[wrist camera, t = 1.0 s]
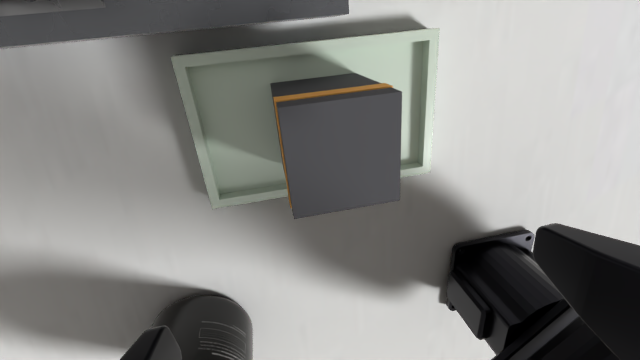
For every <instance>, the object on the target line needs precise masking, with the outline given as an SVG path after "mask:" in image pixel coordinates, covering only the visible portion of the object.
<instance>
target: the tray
mask: <svg viewBox="0 0 640 360" xmlns="http://www.w3.org/2000/svg"><path fill="white" fill-rule="evenodd" d="M439 30H440V28H429V29H419V30H409V31H400V32H390V33H381V34H371V35H362V36H352V37H343V38H334V39H324V40H315V41H305V42H296V43H286V44H277V45H267V46H258V47H248V48H239V49H229V50H220V51H211V52H201V53H192V54H182V55H175V56H171V61H172V64H173V68H174V72H175V75H176V79H177V83H178V86H179V90H180V94H181V97H182V101H183V104H184V108H185V112H186V115H187V119H188V123H189V126H190V130H191V134H192V137H193V141H194V144H195V148H196V152H197V155H198V159H199V163H200V166H201V170H202V174H203V177H204V181H205V185H206V188H207V192H208V195H209V199H210V203H211V206H212V209H217V208H223V207H229V206H235V205H241V204H247V203H253V202H259V201H265V200H271V199H277V198H283V197H288V191H287V184H286V178H285V173H284V169H283V164H282V157H281V151H280V144H279V137H278V131H277V124H276V118H275V111H274V105H273V98H272V92H271V85H270V83H276V82H284V81H292V80H301V79H309V78H317V77H326V76H334V75H342V74H350V73H357V74H359V75H362V76H364V77H367V78H369V79H372V80H374V81H377V82H379V83H387V84H389V85H392V86H393V88H394V89H397V90H399V91H402V123H401V170H400V178H403V177H409V176H415V175H421V174H427V173H430V168H431V152H432V137H433V122H434V106H435V91H436V76H437V60H438V45H439Z"/></svg>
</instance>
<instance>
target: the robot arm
mask: <svg viewBox="0 0 640 360" xmlns="http://www.w3.org/2000/svg"><path fill="white" fill-rule="evenodd" d="M533 241H534V234H533V233H532V232H530V231H529V230H523V231H518V232H513V233H508V234H503V235H498V236H493V237H488V238H483V239H478V240H473V241H468V242H463V243H459V244H456V245H455V246H454V247H453V249H452V257H451V266H450V272H449V277H448V287H447V302H446V305H447V307H448V308H449V309H450V310H451V311H455V310H457V312H458V313H459V314H460V316H461V317H462V318H463V320H464V321H465V323H466V324H467V325H468V327H469V328H470V329H471V331H472V332H473V334H474V335H475V336H476V337H477V338H478V339H479V340H482V339H485V340H486V342H487V343H488V345H489V346H490V347H491V349H492V350H493V351H494V353H495V354H496V356H495V357H494V358H493V359H491V360H640V246H639V245H635V244H632V243H628V242H624V241H621V240H617V239H613V238H610V237H606V236H602V235H598V234H595V233H591V232H587V231H584V230H580V229H576V228H572V227H569V226H565V225H561V224H557V223H554V224H549V225H545V226H541V227H539V228H538V229H537V231H536V236H535V242H534V249H533V253H532V252H531V249H532V245H533ZM120 360H182V356H181V350H180V348H179V346H178V344H177V342H176V340H175V338H174V337H173V335H172V333H171V331H170V329H169V328H168V327H167V326H159V327H155V328H151V329H148V330H146V331H145V332H144V333H143V334H142V335H141V336H140V337H139V338H138V339H137V341H136V342H135V343H134V344H133V345H132V346H131V347H130V349H129V350H128V351H127V352H126V353H125V354H124V355H123V356H122V358H121V359H120Z"/></svg>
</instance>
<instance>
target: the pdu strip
mask: <svg viewBox="0 0 640 360" xmlns="http://www.w3.org/2000/svg"><path fill="white" fill-rule="evenodd" d="M345 14H349V5H348V0H0V49H4V48H15V47H25V46H35V45H46V44H56V43H66V42H77V41H87V40H97V39H108V38H118V37H128V36H139V35H149V34H159V33H170V32H180V31H190V30H201V29H211V28H221V27H232V26H242V25H252V24H263V23H273V22H283V21H294V20H304V19H314V18H325V17H335V16H340V15H345Z"/></svg>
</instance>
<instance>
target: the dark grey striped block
mask: <svg viewBox="0 0 640 360" xmlns="http://www.w3.org/2000/svg"><path fill="white" fill-rule="evenodd" d="M270 85H271V92H272V98H273V105H274V111H275V118H276V124H277V131H278V137H279V144H280V151H281V157H282V164H283V169H284V173H285V178H286V184H287V191H288V197H289V203H290V208H292V211H293V216H294V219H297V218H302V217H308V216H314V215H319V214H325V213H331V212H336V211H342V210H348V209H353V208H359V207H365V206H370V205H376V204H382V203H387V202H393V201H399V200H400V170H401V123H402V91H399V90H397V89H394V88H393V86H392V85H389V84H387V83H379V82H377V81H374V80H372V79H369V78H367V77H364V76H362V75H359V74H357V73H350V74H342V75H334V76H326V77H317V78H309V79H301V80H292V81H284V82H276V83H270Z"/></svg>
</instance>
